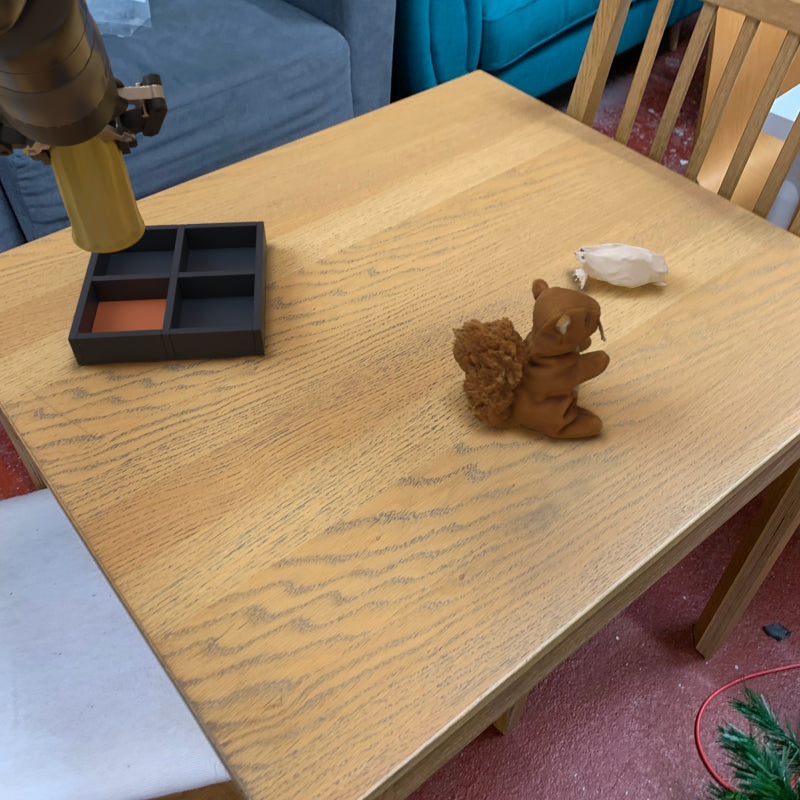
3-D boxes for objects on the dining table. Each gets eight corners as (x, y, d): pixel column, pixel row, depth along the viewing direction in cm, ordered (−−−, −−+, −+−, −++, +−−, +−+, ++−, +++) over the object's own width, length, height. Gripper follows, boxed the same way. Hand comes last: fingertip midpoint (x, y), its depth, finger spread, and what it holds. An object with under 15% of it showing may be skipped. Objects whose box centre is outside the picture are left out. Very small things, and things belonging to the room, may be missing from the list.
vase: (138, 207, 69) (97, 47, 59) (152, 245, 65) (110, 81, 55) (68, 222, 67) (12, 59, 57) (78, 261, 64) (20, 95, 53)
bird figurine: (588, 313, 85) (675, 286, 85) (582, 260, 81) (673, 232, 81) (573, 291, 89) (656, 266, 89) (567, 240, 85) (654, 213, 85)
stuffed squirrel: (608, 437, 72) (645, 333, 62) (461, 452, 70) (475, 348, 60) (576, 362, 78) (604, 258, 68) (440, 375, 76) (450, 269, 67)
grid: (78, 365, 76) (67, 339, 73) (106, 253, 88) (98, 227, 86) (264, 355, 78) (260, 329, 75) (267, 246, 90) (263, 220, 87)
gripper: (150, -12, 47) (164, 90, 64) (-105, 11, 44) (-21, 113, 60) (178, 109, 48) (185, 180, 64) (-72, 141, 45) (3, 207, 61)
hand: (85, 147), depth 62 cm, fingers closed on vase, 5 cm apart
